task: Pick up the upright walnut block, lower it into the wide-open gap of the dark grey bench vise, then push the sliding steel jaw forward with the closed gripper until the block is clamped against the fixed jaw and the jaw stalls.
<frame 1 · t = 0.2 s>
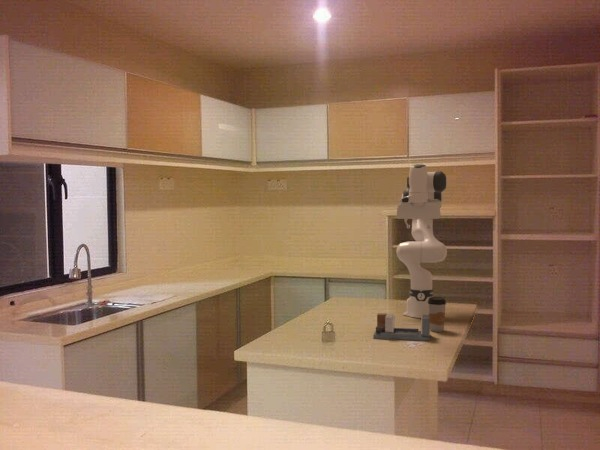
hand: (418, 228, 272), 47 cm above the table, fingers open, 8 cm apart
jaw: (385, 323, 260), point 5 cm above the table, slide at 0.0 cm
vise: (401, 336, 258), on the table
block: (381, 330, 272), on the table
coffee cup: (436, 330, 270), on the table
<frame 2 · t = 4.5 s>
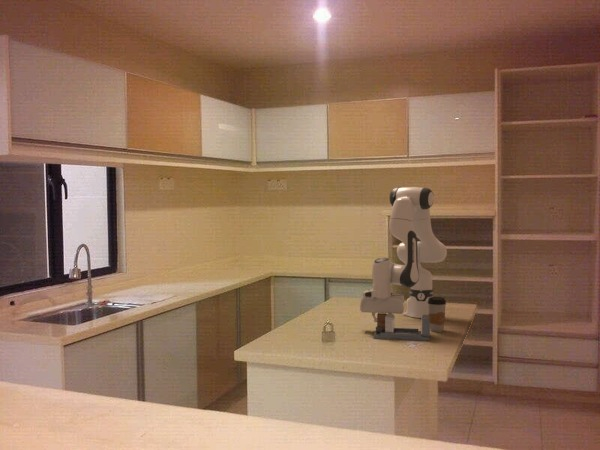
hand: (381, 322, 272), 4 cm above the table, fingers closed on block, 4 cm apart
block: (381, 329, 272), on the table, touching gripper
everything else where it was.
when the fingers open (6 cm above the table, at t = 10.1 s): block stays where it is, resting on vise.
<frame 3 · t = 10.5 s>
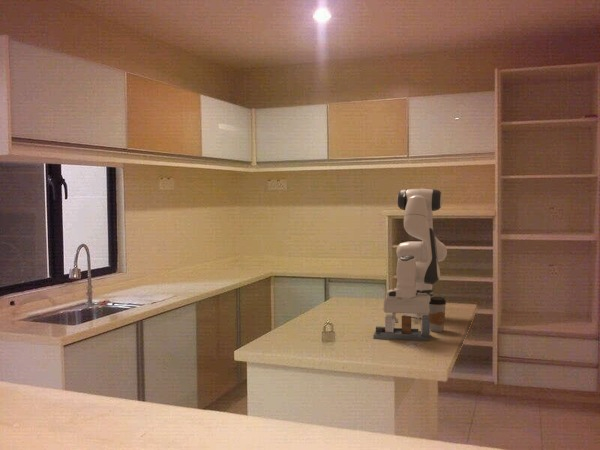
hand: (406, 323, 258), 6 cm above the table, fingers open, 7 cm apart
jaw: (385, 323, 260), point 6 cm above the table, slide at 0.0 cm, touching gripper
block: (406, 333, 258), point 1 cm above the table, touching vise
everything else where it was.
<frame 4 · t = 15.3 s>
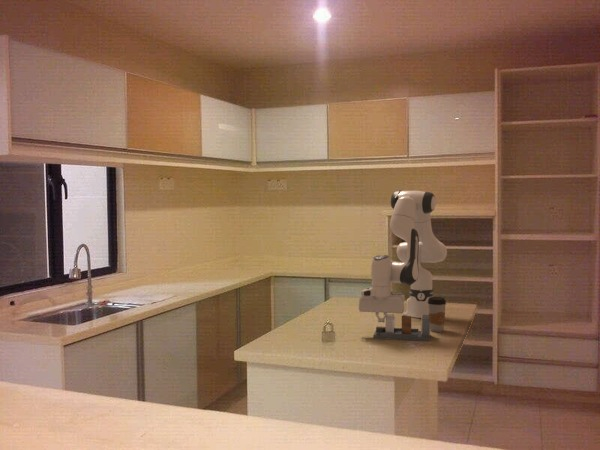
hand: (381, 322, 260), 6 cm above the table, fingers closed
nothing on the table moved.
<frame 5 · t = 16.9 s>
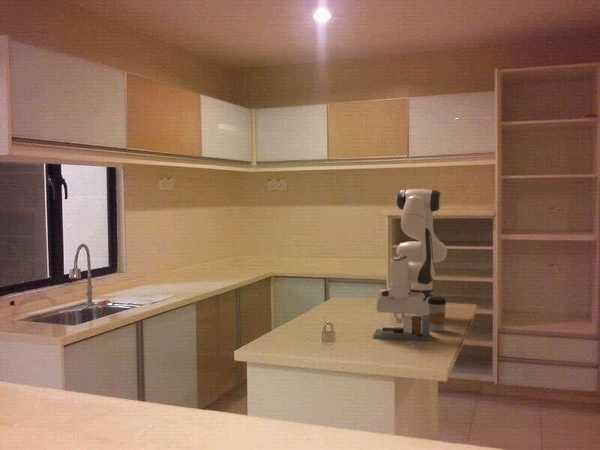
hand: (399, 322, 258), 6 cm above the table, fingers closed
jaw: (402, 324, 258), point 5 cm above the table, slide at 7.9 cm, touching block, gripper
block: (416, 333, 257), point 2 cm above the table, touching jaw, vise
everything else where it was.
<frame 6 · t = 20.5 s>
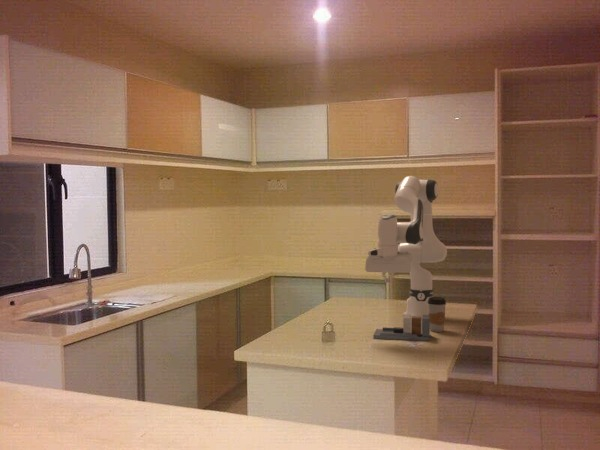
hand: (388, 282, 259), 24 cm above the table, fingers closed
jaw: (402, 324, 258), point 6 cm above the table, slide at 7.9 cm
block: (416, 333, 257), point 1 cm above the table, touching vise
everything else where it was.
at the end: block 0.0 cm from the target spot on the vise, point 1.5 cm above the vise's base; block tilted 0°; jaw slide at 7.9 cm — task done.
